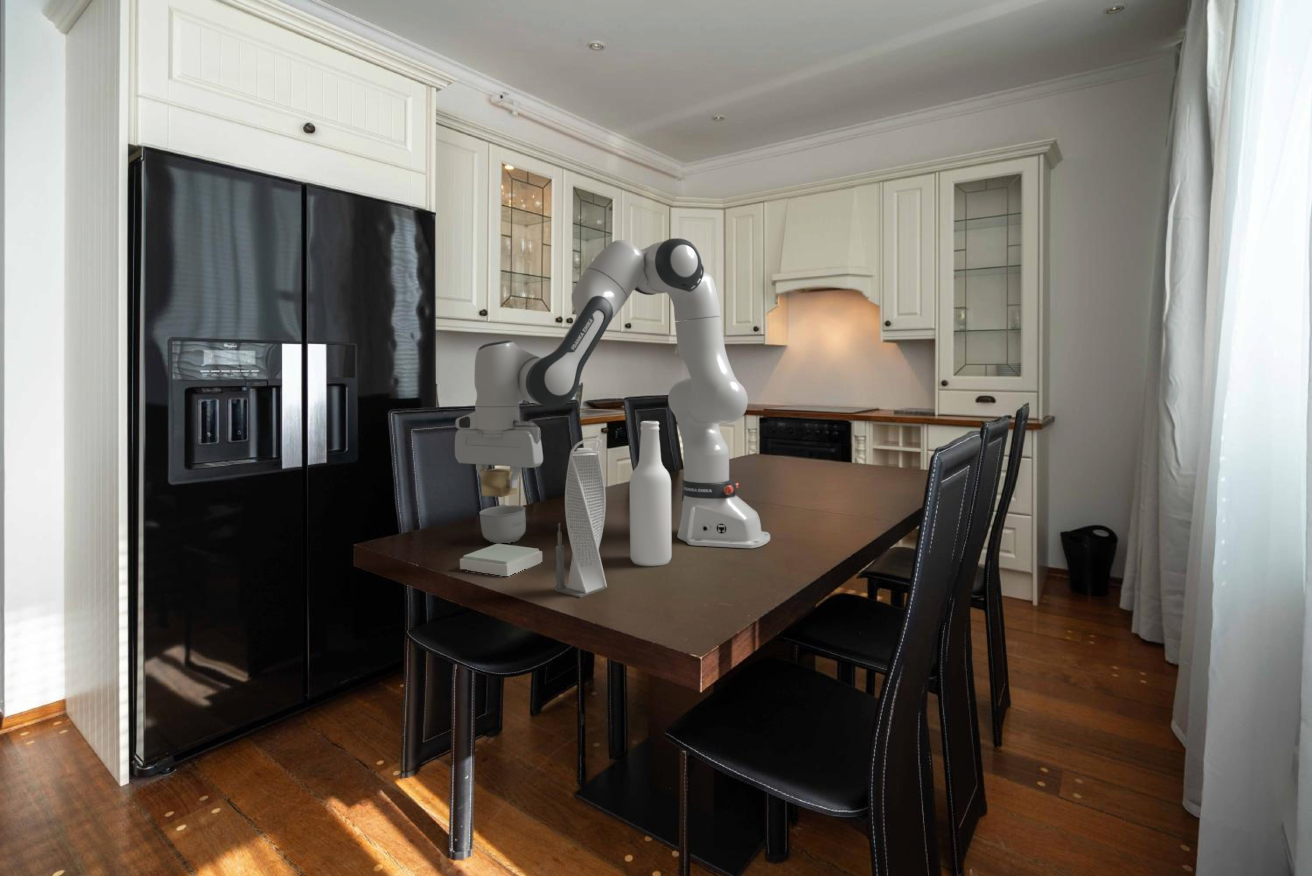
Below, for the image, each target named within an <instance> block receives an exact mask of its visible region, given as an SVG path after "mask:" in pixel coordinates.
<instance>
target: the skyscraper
mask: <svg viewBox="0 0 1312 876" xmlns="http://www.w3.org/2000/svg"><path fill="white" fill-rule="evenodd" d="M589 442H598V446H597V448H596V450H593V448H592V447H591V448H590V447H579V446H580V445H582V444H585V443H589ZM602 443H603V440H602V439H600V438H587V439H583V440H581V441H579V442H577V443H575V445H574V446H573V447H572V448H571V450H570V452H569V458H568V465H567V471H566V478H565V479H566V480H565V490H564V511H565V521H566V528H567V534H568V539H569V543H570V547H571V548H570V549H571V552H572V555H571V563H570V569H569V573H568V579H567V583H566V582H565V579H566V569H565V564H564V563H565V562H564V561H565V560H564V558H565V556H564V553H565V546H564V545H563V544H562V541H563V540H562V539H563V538H562V534H563V533H562V531H561V522H559V523H558V526H557V527H558V532H557V545H556V546H555V555H556V556H555V557H556V566H555V567H556V568H555V580H556V585H555V587H554V588H553V591H554V590H555V592H558V593H563V594H566V595H569V596H572V597H575V598H579V599H581V598H584V597H586V596H590V595H592V594H595V593H598V592H601V591H603V590H606V589H607V588H608V586H607V581H606V576H605V572H604V568H603V564H602V559H601V555H600V550H599V549H600V545H601V541H602V537H603V530H604V526H605V518H606V508H607V507H606V506H607V504H606V503H607V501H606V497H607V495H606V494H607V493H606V485H605V479H604V478H605V477H604V472H603V467H602V462H601V461H602V460H601V456H600V449H601V446H602ZM578 447H579V448H578Z"/></svg>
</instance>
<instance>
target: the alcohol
mask: <svg viewBox="0 0 1312 876" xmlns="http://www.w3.org/2000/svg"><path fill="white" fill-rule="evenodd" d="M639 424H640V429H639V430H640V443H639V457H638V463H637V465H636V467H635V468H634V470H633V471H632V472H631V474H630V478H629V534H630V535H629V540H630V541H629V542H630V545H629V547H630V548H629V550H630V553H629V554H630V556H629V557H630V560H631V562H632V563H633V564H635V565H636V566H642V567H660V566H665V565H667V564H669V563H670V561H671V559H672V556H673V555H672V480H671V476H670V472H669V471H668V469H666V468H665V466H664V465H663V462H662V461H663V460H662V453H661V442H660V432H659V431H660V427H659V425H660V422H659V421H657V420H643V421H641V422H640V423H639Z"/></svg>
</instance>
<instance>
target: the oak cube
mask: <svg viewBox="0 0 1312 876" xmlns="http://www.w3.org/2000/svg"><path fill="white" fill-rule="evenodd" d="M511 474H512V472H510V468H509V469H508V468H492V469H486V471H481V477H480V483H481V484H480V485H481V496H485V497H495V498H496V497H497V498H503V497H507V496H511V495H515V494H517V487H516V488H507V487H506V484H507V483H506V480H507V479H510V477H511Z"/></svg>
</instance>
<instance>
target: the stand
mask: <svg viewBox="0 0 1312 876" xmlns="http://www.w3.org/2000/svg"><path fill="white" fill-rule="evenodd" d="M541 562H542V563H543V551H542V550H539V548H535V547H528V546H527V547H526V546H519V545H510V544H492V545H490V546H487V547H484V548H481V549H478V550H475V551H472V552H470V553H468V554H464V555H463V556H462V558H459V570H460V569H467V570H471V571H477V572H482V573H490V574H495V575H500V576H499V577H502V576H509V577H511V576H510V575H512V574H514V573H516V574H518V572H519V573H521V572H523V571H525V570H524V569H526V570H528V569H530V568H532V567H534V566H537V565H539V564H542V563H541ZM522 570H523V571H522ZM520 571H521V572H520ZM495 575H494V576H495ZM514 575H515V574H514ZM512 576H513V575H512Z"/></svg>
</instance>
